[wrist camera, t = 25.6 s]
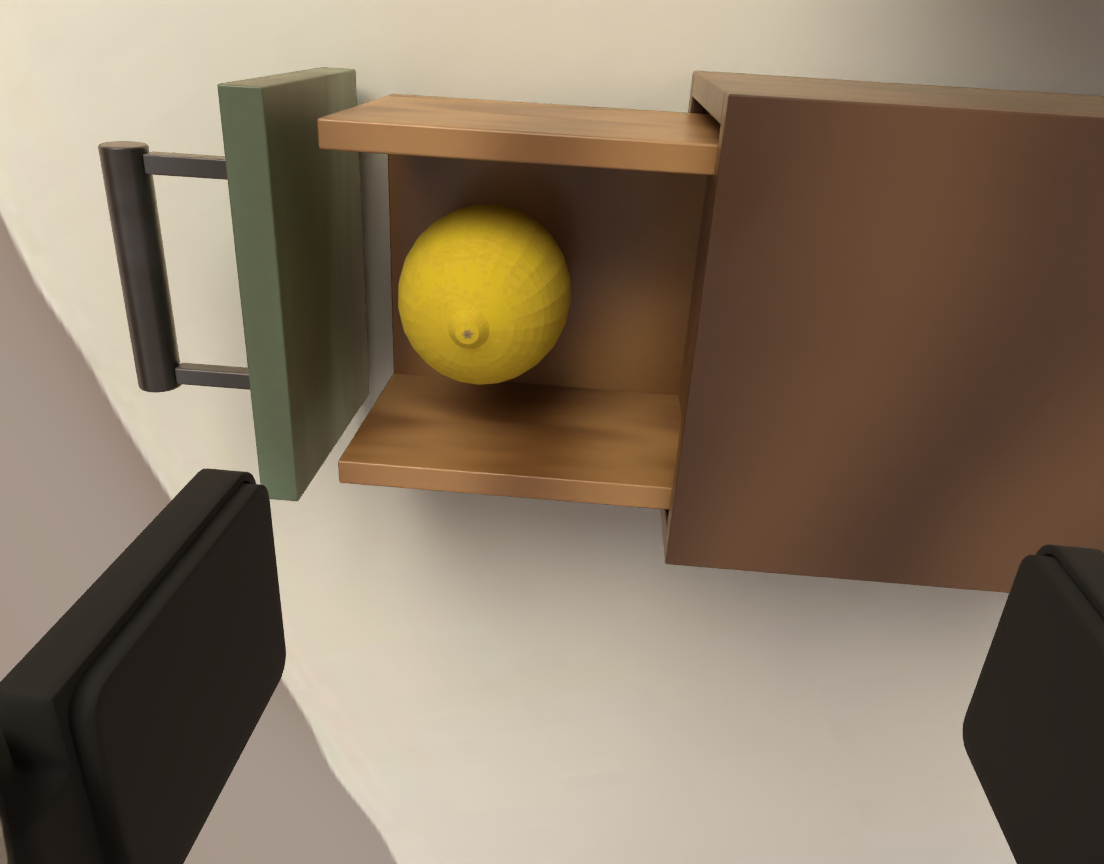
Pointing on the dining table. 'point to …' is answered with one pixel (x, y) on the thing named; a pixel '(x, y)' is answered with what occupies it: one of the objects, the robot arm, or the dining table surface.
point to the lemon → (484, 294)
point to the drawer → (338, 275)
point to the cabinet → (894, 333)
